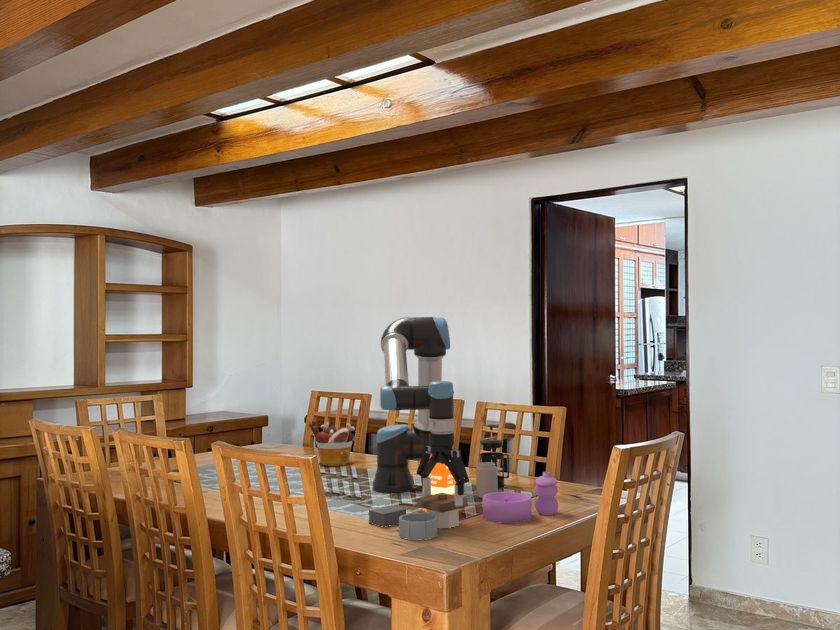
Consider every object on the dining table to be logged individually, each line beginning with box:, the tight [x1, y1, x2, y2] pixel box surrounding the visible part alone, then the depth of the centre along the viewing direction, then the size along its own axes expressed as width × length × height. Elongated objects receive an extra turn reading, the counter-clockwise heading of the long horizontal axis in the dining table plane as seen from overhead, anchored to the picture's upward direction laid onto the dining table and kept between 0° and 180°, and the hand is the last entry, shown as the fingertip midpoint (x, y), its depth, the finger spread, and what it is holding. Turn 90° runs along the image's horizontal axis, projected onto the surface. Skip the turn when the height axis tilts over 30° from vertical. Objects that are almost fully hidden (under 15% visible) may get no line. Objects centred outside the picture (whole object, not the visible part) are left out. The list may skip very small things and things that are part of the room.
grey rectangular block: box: [368, 505, 407, 528], centre depth 238 cm, size 7×9×4 cm
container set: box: [482, 471, 559, 524], centre depth 245 cm, size 25×15×13 cm, turn 107°
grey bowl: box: [398, 512, 438, 541], centre depth 224 cm, size 11×11×5 cm
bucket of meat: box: [308, 419, 356, 467], centre depth 341 cm, size 20×16×20 cm
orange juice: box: [422, 454, 456, 513], centre depth 253 cm, size 8×9×20 cm
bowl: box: [426, 509, 460, 529], centre depth 235 cm, size 10×10×6 cm
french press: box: [479, 424, 510, 489], centre depth 290 cm, size 12×9×23 cm
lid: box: [416, 493, 469, 513], centre depth 235 cm, size 11×11×4 cm
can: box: [475, 461, 499, 500], centre depth 271 cm, size 8×8×12 cm
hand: (442, 502), depth 235 cm, fingers open, 13 cm apart
